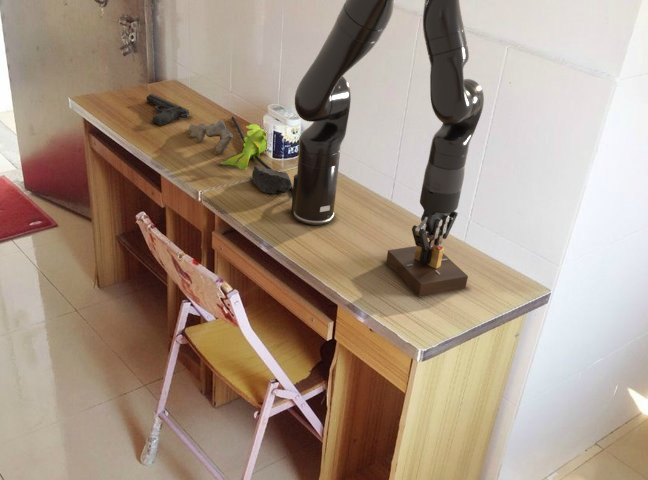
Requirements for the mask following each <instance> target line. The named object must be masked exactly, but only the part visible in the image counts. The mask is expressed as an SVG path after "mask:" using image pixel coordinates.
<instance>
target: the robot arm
mask: <svg viewBox="0 0 648 480" xmlns="http://www.w3.org/2000/svg"><path fill="white" fill-rule="evenodd" d="M394 7H395V0H345V1H344V3H343V4H342V7H341V8H340V11H339V13H338V15H337V17H336V20H335V22H334V24H333V26H332V28H331V30H330V31H329V34H328V35H327V37H326V39H325V41H324V43H323V44H322V46H321V49H320V50H319V52H318V53H317V55H316V57H315V59H314V60H313V62H312V64H311V65H310V66H309V68H308V69H307V71H306V72H305V73H304V75H303V77H302V78H301V80H299V81H300V82H299V83H298V85H297V87H296V90H295V95H294V107H295V111H296V114H297V116H299V118H300V119H301V120H303V121H305V122H311V124H310V125H309V126H308V127H307V128H305V129H304V130H303V131H302V132H301V134H300V136H299V143H298V144H299V147H298V158H297V159H298V161H297V172H296V174H294V176H293V183H292V187H291V188H290V189H289V190H290V191H291V193H292V194H291V195H292V196H291V210H290V212H291V214H293V217H294V219H295V220H296V221H298V222H299V223H303V224H305V225H309V226H310V225H311V226H323V225H327V224H329V223H331V222H332V221H333V220H334V218H335V217H334V216H335V203H336V194H337V185H338V178H339V177H338V176H339V167H340V157H341V149H342V143H343V142H344V140H345V137H346V134H347V129H348V123H349V116H350V112H351V111H350V110H351V102H352V99H351V98H352V97H351V96H352V95H351V88H350V85H349V82H348V81H347V79H346V78H345V77H344V75H346V73H347V72H348V71H350V70H351V69H352V68H353V67H355V65H357V64H358V63H359V62H360V61H361V60H362V59H363V58H365V57H366V56H367V55H368V54H369V53H370V52H371V51H372V50H373V49H374V48H375V46H376V45H377V43H378V42H379V41H380V39H381V37H382V35H383V33H384V32H385V31H386V28H387V27H388V25H389V23H390V22H391V19H392V16H393V14H394V13H393V12H394ZM422 11H423V12H422V31H423V37H424V42H425V47H426V51H427V55H428V60H429V65H430V71H429V73H430V74H429V94H430V104H431V108H432V111H433V113H434V115H435V116H436V118H437V119H438V120H439V121H440V122H441V123H442V124H441V126H440V128H439V129H438V130H437V131H436V132H435V133H434V135H433V136H432V140H431V144H430V148H429V153H428V154H429V155H428V159H427V162H426V163H427V164H426V166H425V169H424V174H423V180H422V185H421V192H420V196H419V204H420V206H421V207H422V209H423V213H422V215H421V217H420V221H421V222H420V223H419V224H418V226H417V225H416V224H414V225H412V227H411V232H412V236H413V241H414V243H415V244H414V245H415V246H419V247H422V249H421V254H420V262H422V263H424V264H426V265H427V264H429V263H430V261H431V256H432V251H433V245H437V246H440V245H441V244H442V243H443V240H446V239H447V238H448V236H449V234H450V232H451V231H452V228H453V226H454V224H455V221H456V219H457V217H458V212H457V209H458V207H459V203H460V198H461V194H462V188H463V184H464V179H465V169H466V164H467V158H468V154H469V147H470V143H471V140H472V138H473V135H474V134H475V131H476V129H477V126H478V124H479V121H480V119H481V116H482V113H483V109H484V105H485V104H484V103H485V95H484V91H483V89H482V86H481V85H480V84H479V82H478V81H476V80H474V79H471V78H464V67H465V65H467V63H468V61H469V58H470V52H469V47H468V41H467V36H466V32H465V26H464V21H463V15H462V9H461V3H460V0H424V5H423V10H422ZM231 120H232V121H233V123H234V125H235V128H236V129H237V130H238V134H239V136H240V138H241V139H242V141H243V144H244V143H245V141H244V138H245V137H246V136H245V135H244V132H243V131H242V129H241V127H240V124H239V123H238V121H237V119H236V118H235V116H232V117H231ZM255 159H256V160H257V162H258V163H259V164H261V165H262V166H263V168H266V169H272V170H274V169H273V168H271V166H269V164H267V163H266V162H265V161H263V160H262V159H261V158H260V156H259V157H257V156H255Z"/></svg>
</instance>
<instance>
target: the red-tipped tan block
mask: <svg viewBox="0 0 648 480" xmlns="http://www.w3.org/2000/svg"><path fill="white" fill-rule="evenodd" d="M415 246H416V252H415V258H414V259H416V260H418V261H420V254H421V249H422V247H419V246H417V245H415ZM444 250H445V248H444V247H443V246H440V245H439V246H437V245H433V251H432V256H431V261H430V263H429V264H427V265H429V266H431V267H433V268H435V269H437V268H438V267H440V266H441V261H442V256H443V253H444Z"/></svg>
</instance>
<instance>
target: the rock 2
mask: <svg viewBox="0 0 648 480" xmlns="http://www.w3.org/2000/svg"><path fill="white" fill-rule="evenodd" d="M272 169H273V168H271V169H266V168H265V167H262V166H260V165H255V166H254V167H253V170H252V174H251V176H252V181H253V183H254V185H255V186H256V187H257V188H258V189H259V191H261V192H262V193H266V194H286V193H287V192H288V191H289V190H290V188H291V187H293V183H292V181H291V178H290V176H289V174H288V173H287V172H286V171H285V172H284V171H279V170H276V169H273V170H272Z"/></svg>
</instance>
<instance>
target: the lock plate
mask: <svg viewBox="0 0 648 480" xmlns="http://www.w3.org/2000/svg"><path fill="white" fill-rule="evenodd" d="M416 246H417V245H413V246H407V247H400V248H394V249H388V250H387V255H386V260H385V261H386V264H387V265H388V266H389V267H390V268H391V269H392V270H393V272H395V273H396V274H397V276H399V278H401V279H402V281H403V282H404V283H405V284H406V285H407V286H408V287H409V288H410V289H411V290H412V291H413V292H414V293H415V294H416V295H417V296H418V297H424V296H430V295H435V294H441V293H446V292H453V291H457V290H458V291H459V290H463V289H466V287H467V282H468V278H469V275H468V274H467V273H466V272H465V271H463V270H462V269H461V268H460V267H459V266H458V265H457V264H456V263H454V262H453V260H452V259H450V258H449V257H448V256H447V255H446V254H445V253H444V252H443V256H442V261H441V266H440V267H438V268H437V269H435V268H433V267H431V266H429V265H426V264H424V263H422V262H420V261H418V260H416V259H414V258H415V252H416Z"/></svg>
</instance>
